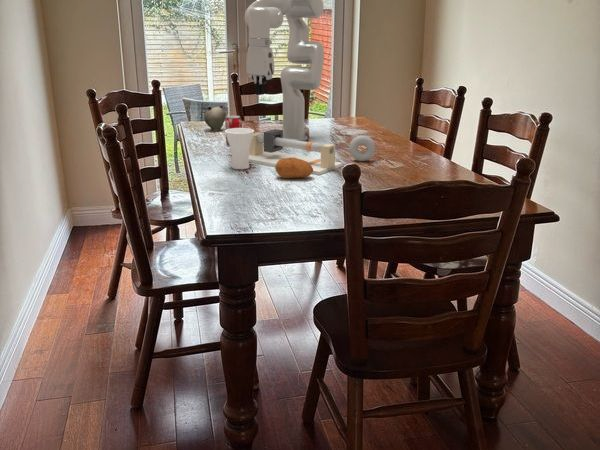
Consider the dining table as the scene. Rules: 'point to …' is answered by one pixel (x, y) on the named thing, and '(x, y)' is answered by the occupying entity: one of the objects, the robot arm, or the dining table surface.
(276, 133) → the collar
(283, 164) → the potato
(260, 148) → the pipe stand
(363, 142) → the donut
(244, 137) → the cup
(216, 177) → the dining table surface
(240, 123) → the soda can
